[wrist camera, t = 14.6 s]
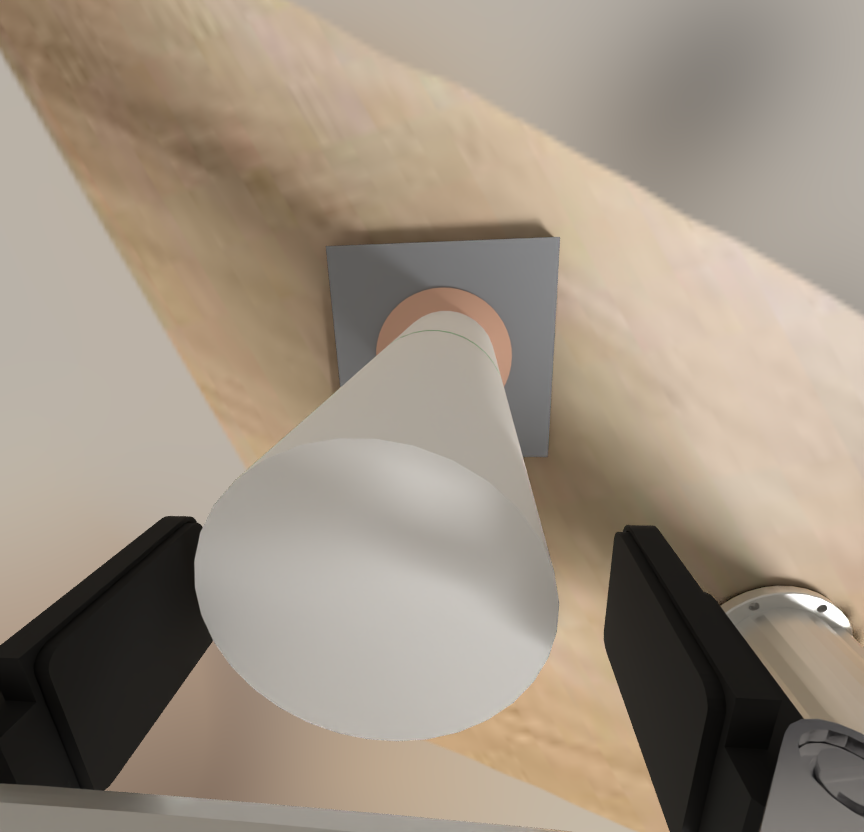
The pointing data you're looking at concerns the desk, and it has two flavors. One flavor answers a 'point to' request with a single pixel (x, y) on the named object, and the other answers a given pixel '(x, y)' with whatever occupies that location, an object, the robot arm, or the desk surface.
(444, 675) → the cylindrical container
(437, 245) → the board
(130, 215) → the desk surface
